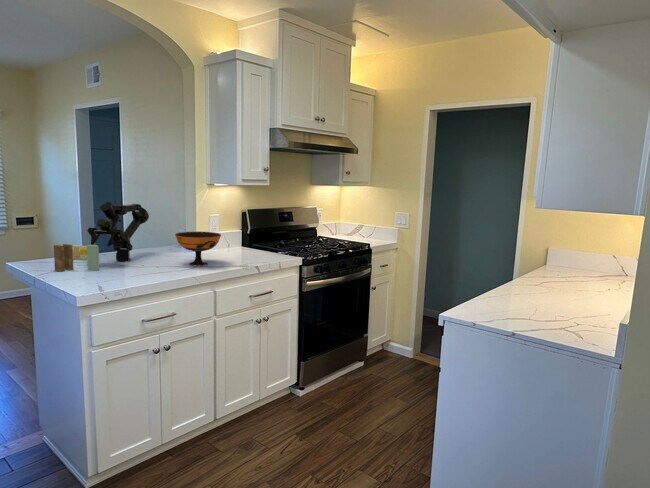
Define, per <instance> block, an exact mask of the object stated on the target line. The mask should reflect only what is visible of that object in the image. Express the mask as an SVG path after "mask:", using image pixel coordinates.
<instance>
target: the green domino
mask: <svg viewBox="0 0 650 488" xmlns="http://www.w3.org/2000/svg"><path fill="white" fill-rule="evenodd" d="M86 246H87V260H86V261H87V262H86V263H87V271H96V272H97V271H100V263H99V262H100V253H99V254H98V247H99V245H97V244H94V245H91V244H88V245H86Z"/></svg>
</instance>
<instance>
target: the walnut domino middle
mask: <svg viewBox="0 0 650 488" xmlns="http://www.w3.org/2000/svg"><path fill="white" fill-rule="evenodd" d="M72 245H73V244H69V243H63V244H62V246H63V247H64V270H68V271H72V270H74V260H73V247H72Z"/></svg>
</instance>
